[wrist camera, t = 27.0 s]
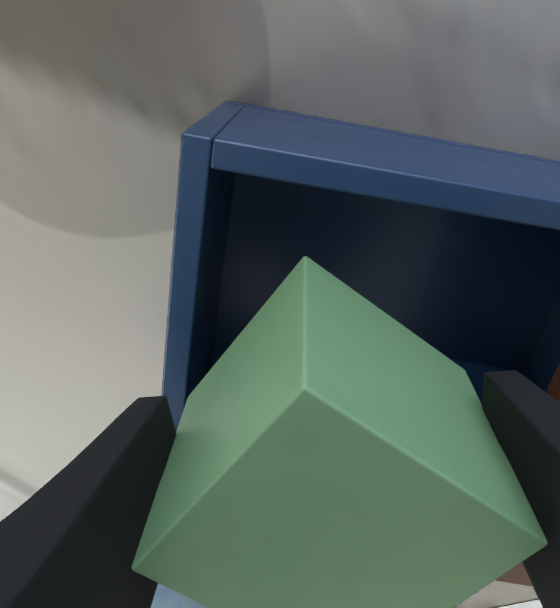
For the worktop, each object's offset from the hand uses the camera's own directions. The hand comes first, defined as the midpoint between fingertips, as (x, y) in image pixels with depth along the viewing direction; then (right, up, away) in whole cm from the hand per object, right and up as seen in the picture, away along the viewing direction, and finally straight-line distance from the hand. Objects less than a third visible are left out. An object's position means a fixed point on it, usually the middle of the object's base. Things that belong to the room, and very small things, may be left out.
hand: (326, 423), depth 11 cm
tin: (+3, +3, +7) cm, 8 cm away
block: (0, +1, +1) cm, 1 cm away
